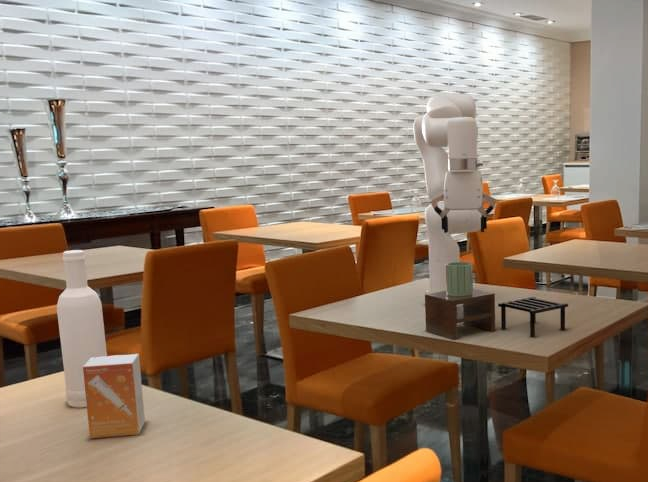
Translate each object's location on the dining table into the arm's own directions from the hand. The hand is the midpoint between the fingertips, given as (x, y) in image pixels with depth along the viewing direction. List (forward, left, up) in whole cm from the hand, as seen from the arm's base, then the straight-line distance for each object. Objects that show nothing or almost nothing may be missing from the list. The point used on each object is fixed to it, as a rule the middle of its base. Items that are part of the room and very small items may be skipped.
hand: (464, 232), depth 196 cm
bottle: (-4, -92, -26) cm, 96 cm away
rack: (+13, +13, -26) cm, 32 cm away
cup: (+1, -2, -16) cm, 16 cm away
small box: (+17, -92, -26) cm, 97 cm away
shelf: (+1, -2, -26) cm, 26 cm away
